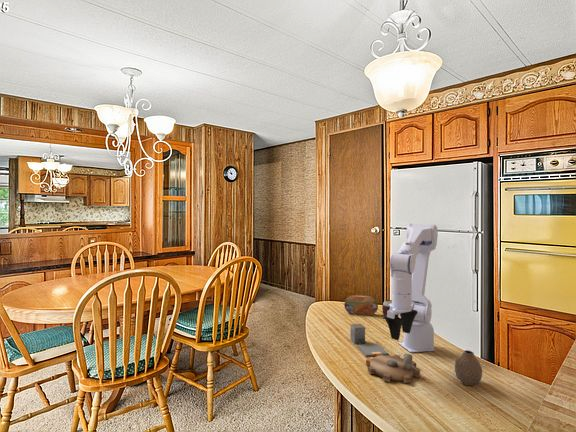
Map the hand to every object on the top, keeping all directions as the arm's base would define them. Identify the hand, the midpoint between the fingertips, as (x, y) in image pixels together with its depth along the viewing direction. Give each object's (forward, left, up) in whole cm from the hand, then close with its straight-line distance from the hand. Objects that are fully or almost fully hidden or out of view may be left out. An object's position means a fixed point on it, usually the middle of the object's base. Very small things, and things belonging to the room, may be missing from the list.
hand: (400, 335), depth 105 cm
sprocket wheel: (+4, +2, -10) cm, 11 cm away
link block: (+6, -20, -10) cm, 23 cm away
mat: (+4, -12, -10) cm, 16 cm away
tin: (-8, -50, -10) cm, 51 cm away
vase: (-14, +12, -10) cm, 21 cm away
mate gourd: (-18, -40, -10) cm, 45 cm away
